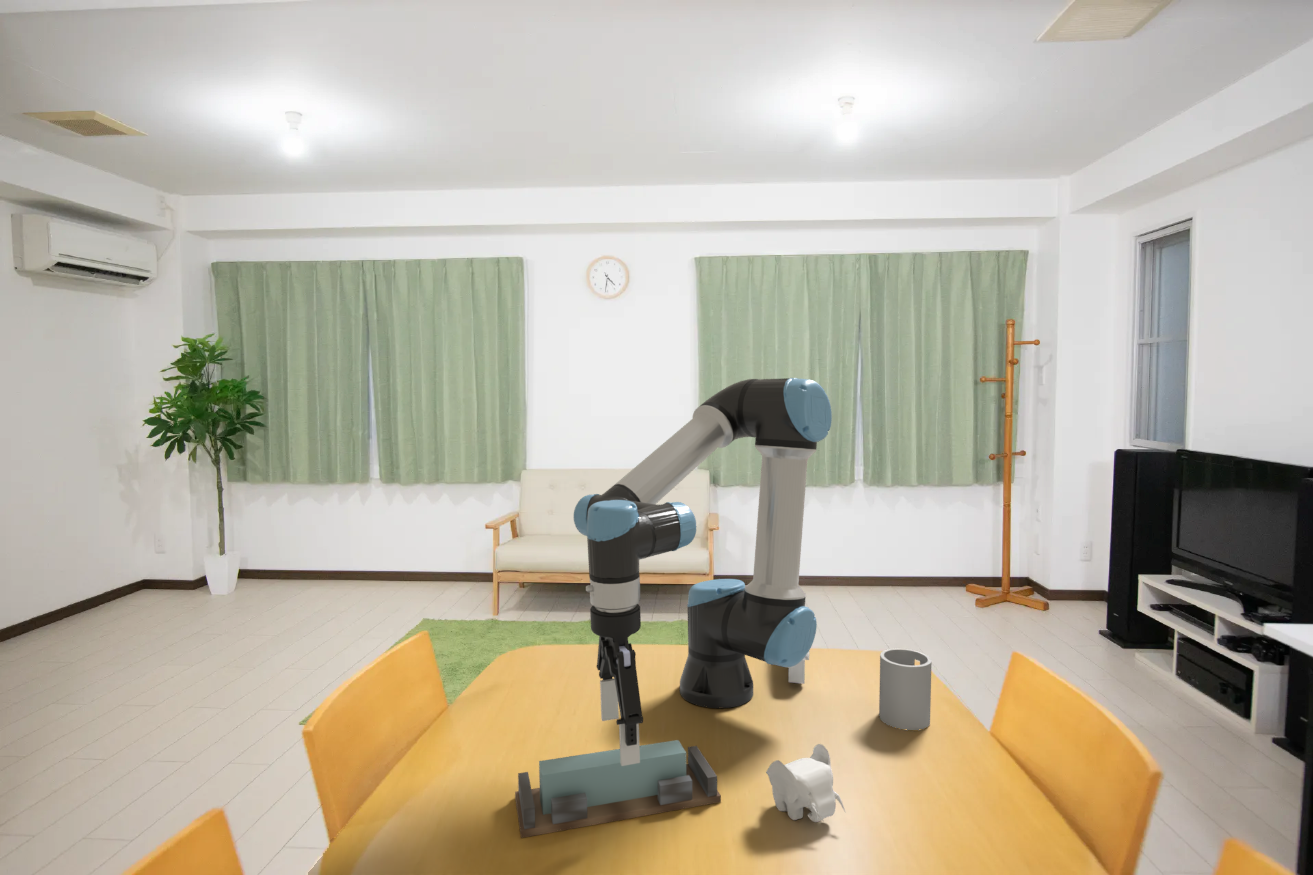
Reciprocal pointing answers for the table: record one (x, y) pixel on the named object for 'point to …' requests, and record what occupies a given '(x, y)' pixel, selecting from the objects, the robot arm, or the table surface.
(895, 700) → the cup
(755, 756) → the table surface
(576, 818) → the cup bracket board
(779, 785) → the elephant figurine
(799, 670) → the shelf bracket
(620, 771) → the rail
